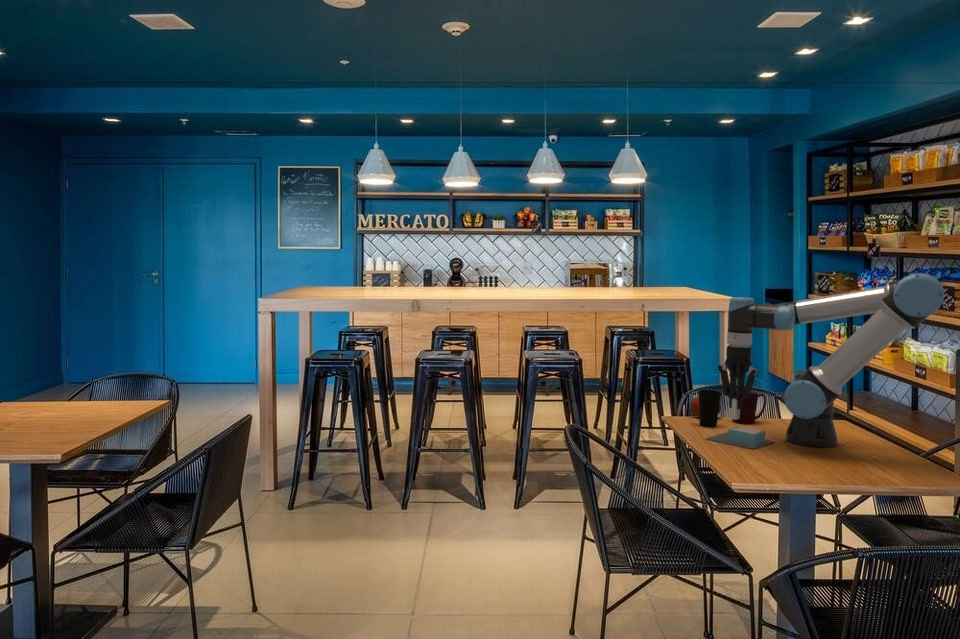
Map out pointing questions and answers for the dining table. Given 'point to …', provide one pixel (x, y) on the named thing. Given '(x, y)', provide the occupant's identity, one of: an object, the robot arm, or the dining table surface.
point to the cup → (709, 407)
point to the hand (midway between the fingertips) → (735, 418)
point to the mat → (723, 439)
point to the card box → (746, 436)
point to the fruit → (697, 406)
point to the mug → (750, 409)
